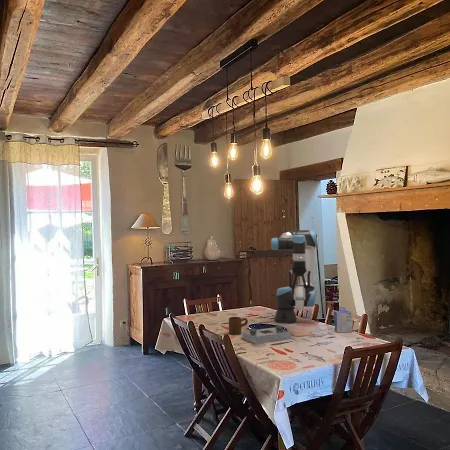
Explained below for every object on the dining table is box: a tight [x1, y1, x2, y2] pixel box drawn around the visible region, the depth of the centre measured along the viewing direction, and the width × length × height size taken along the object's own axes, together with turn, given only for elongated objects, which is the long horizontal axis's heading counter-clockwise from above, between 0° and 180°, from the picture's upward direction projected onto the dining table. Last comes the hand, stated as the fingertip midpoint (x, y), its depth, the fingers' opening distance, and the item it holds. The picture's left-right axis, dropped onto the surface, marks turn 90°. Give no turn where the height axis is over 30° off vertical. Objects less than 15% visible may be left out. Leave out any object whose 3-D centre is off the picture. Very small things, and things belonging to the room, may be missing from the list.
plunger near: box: [248, 328, 258, 335], centre depth 254 cm, size 4×4×5 cm
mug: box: [228, 316, 249, 336], centre depth 273 cm, size 12×8×9 cm, turn 104°
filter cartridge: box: [294, 284, 305, 311], centre depth 270 cm, size 5×5×15 cm
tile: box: [290, 329, 315, 338], centre depth 270 cm, size 12×12×1 cm
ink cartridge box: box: [333, 306, 353, 333], centre depth 275 cm, size 10×6×14 cm, turn 97°
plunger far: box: [275, 325, 284, 331], centre depth 262 cm, size 4×4×5 cm
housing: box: [241, 326, 292, 345], centre depth 258 cm, size 14×24×4 cm, turn 118°
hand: (299, 299), depth 270 cm, fingers closed on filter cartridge, 5 cm apart
